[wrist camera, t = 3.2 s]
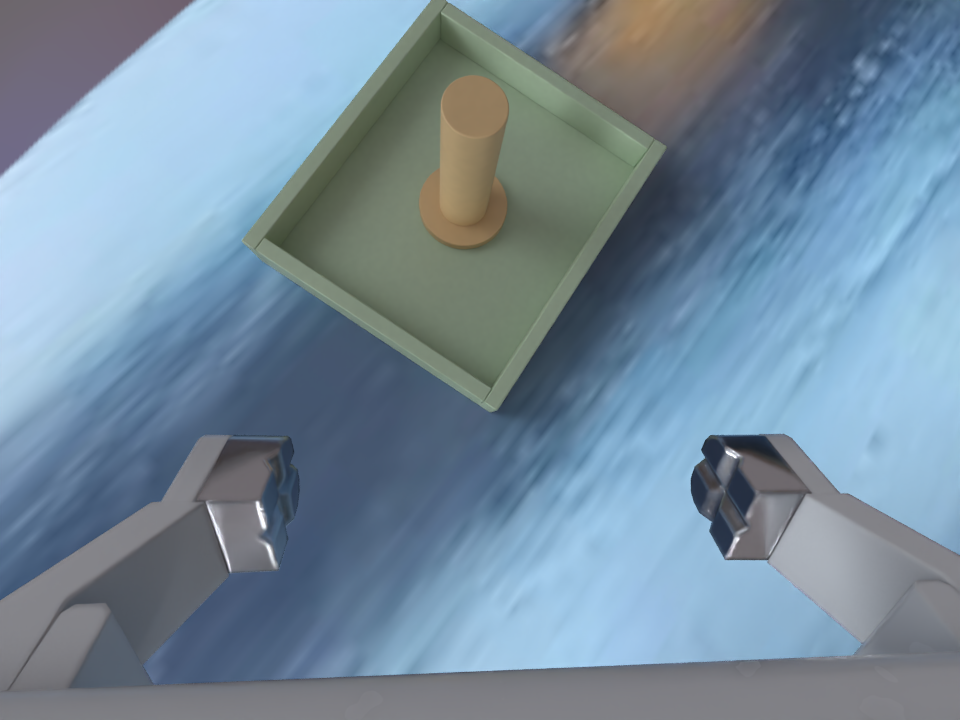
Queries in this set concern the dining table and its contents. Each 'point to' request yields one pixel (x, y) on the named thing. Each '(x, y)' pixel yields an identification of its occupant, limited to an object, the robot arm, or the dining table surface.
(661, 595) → the dining table surface
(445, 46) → the tray
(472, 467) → the dining table surface
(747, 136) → the dining table surface
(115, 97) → the dining table surface
